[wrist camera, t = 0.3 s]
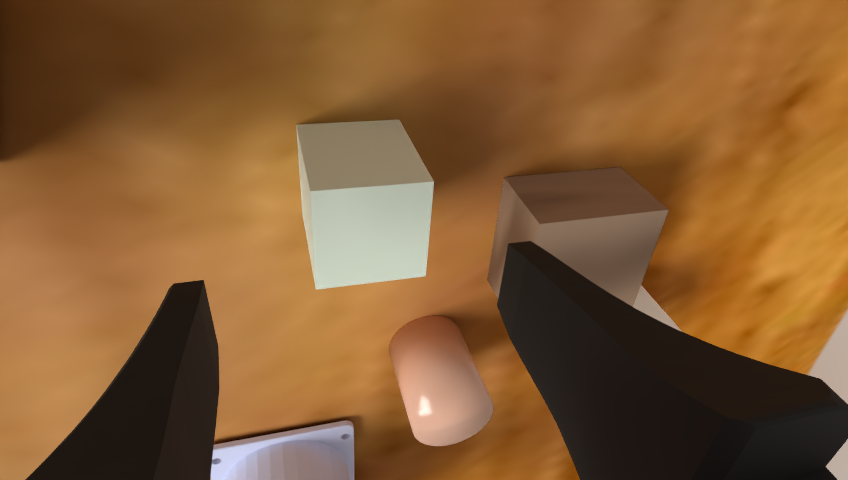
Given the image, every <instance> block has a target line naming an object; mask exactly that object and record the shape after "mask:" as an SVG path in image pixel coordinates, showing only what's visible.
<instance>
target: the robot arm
mask: <svg viewBox="0 0 848 480" xmlns="http://www.w3.org/2000/svg"><path fill="white" fill-rule="evenodd" d="M497 306H498V308H499V311H500V314H501V316H502V319H503V322H504V325H505V327H506V329H507V332H508V334H509V337H510V339H511V341H512V343H513V345H514V347H515V349H516V350H517V352H518V354H519V356H520V358H521V359H522V361H523V363H524V365H525V367H526V368H527V370H528V372H529V374H530V376H531V377H532V379H533V381H534V383H535V384H536V386H537V388H538V390H539V392H540V393H541V395H542V397H543V399H544V400H545V402H546V404H547V406H548V408H549V409H550V411H551V413H552V415H553V417H554V419H555V421H556V423H557V425H558V427H559V429H560V432H561V434H562V436H563V439H564V441H565V443H566V446H567V448H568V450H569V453H570V455H571V457H572V460H573V462H574V465H575V467H576V470H577V472H578V475H579V477H580V480H837V479H836V478H835V477H834V475H833V474H831V472H830V471H829V470H828V469H827V468H826V467H825V466H826V465H827V464H828V463H829V461H830V460H831V459H832V458H833V456H834V455H835V454H836V453H837V451H838V450H839V449H840V448H841V447H842V445H843V444H844V443H845V442H846V440H847V439H848V404H847V403H846V402H845V401H844V400H842V399H841V398H840V397H839V396H838V395H837V394H836V393H835V392H834V391H833V390H832V389H831V388H830V387H829V386H828V385H827V384H826V383H824V382H823V381H822V380H821V379H819V378H815V377H812V376H808V375H805V374H801V373H798V372H794V371H790V370H787V369H783V368H779V367H776V366H772V365H769V364H766V363H763V362H760V361H757V360H754V359H751V358H748V357H745V356H742V355H739V354H736V353H733V352H730V351H728V350H725V349H722V348H720V347H717V346H714V345H712V344H710V343H707V342H705V341H702V340H700V339H698V338H695V337H693V336H690V335H688V334H686V333H684V332H681V331H679V330H677V329H675V328H673V327H671V326H669V325H667V324H665V323H663V322H661V321H659V320H657V319H655V318H653V317H651V316H649V315H647V314H645V313H643V312H641V311H639V310H638V309H636V308H634V307H632V306H631V305H629V304H627V303H625V302H624V301H622V300H620V299H619V298H617V297H615V296H614V295H612V294H610V293H609V292H607V291H606V290H604V289H602V288H601V287H599V286H598V285H596V284H595V283H593V282H591V281H590V280H588V279H587V278H585V277H584V276H582V275H581V274H579V273H578V272H577V271H575V270H574V269H572V268H571V267H569V266H568V265H566V264H565V263H563V262H562V261H560V260H559V259H558V258H556V257H555V256H553V255H552V254H550V253H549V252H547V251H546V250H544V249H543V248H541V247H540V246H538V245H536V244H535V243H533V242H532V241H525V242H516V243H508V247H507V252H506V258H505V264H504V269H503V275H502V281H501V286H500V292H499V298H498V303H497ZM218 396H219V356H218V343H217V339H216V334H215V330H214V325H213V321H212V316H211V311H210V307H209V302H208V298H207V293H206V289H205V284H204V280H200V281H192V282H184V283H175V284H173V285H172V286H171V287H170V288H169V290H168V292H167V294H166V296H165V298H164V300H163V302H162V304H161V306H160V308H159V309H158V311H157V313H156V315H155V317H154V318H153V320H152V322H151V324H150V325H149V327H148V329H147V330H146V332H145V334H144V335H143V337H142V338H141V340H140V341H139V343H138V345H137V346H136V348H135V349H134V351H133V353H132V354H131V356H130V357H129V359H128V360H127V362H126V363H125V364H124V366H123V367H122V369H121V370H120V371H119V373H118V374H117V376H116V377H115V378H114V380H113V381H112V383H111V384H110V385H109V387H108V388H107V390H106V391H105V392H104V393H103V395H102V396H101V397H100V399H99V400H98V401H97V402H96V404H95V405H94V406H93V407H92V409H91V410H90V411H89V412H88V413H87V415H86V416H85V417H84V418H83V419H82V420H81V422H80V423H79V424H78V425H77V426H76V427H75V429H74V430H73V431H72V432H71V433H70V434H69V435H68V436H67V437H66V438H65V440H64V441H63V442H62V443H61V444H60V445H59V446H58V447H57V448H56V449H55V450H54V451H53V452H52V453H51V455H50V456H49V457H48V458H47V459H46V460H45V461H44V462H43V463H42V464H41V465H40V466H39V467H38V468H37V469H36V470H35V471H34V472H33V473H32V474H31V475H30V476H29V477H28V478H27V479H26V480H210V477H211V480H354V427H353V423H352V422H351V421H347V420H346V421H339V422H334V423H329V424H323V425H318V426H312V427H307V428H301V429H296V430H291V431H285V432H280V433H274V434H269V435H263V436H258V437H253V438H247V439H242V440H236V441H231V442H225V443H220V444H215V445H214V437H215V427H216V417H217V406H218Z"/></svg>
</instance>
